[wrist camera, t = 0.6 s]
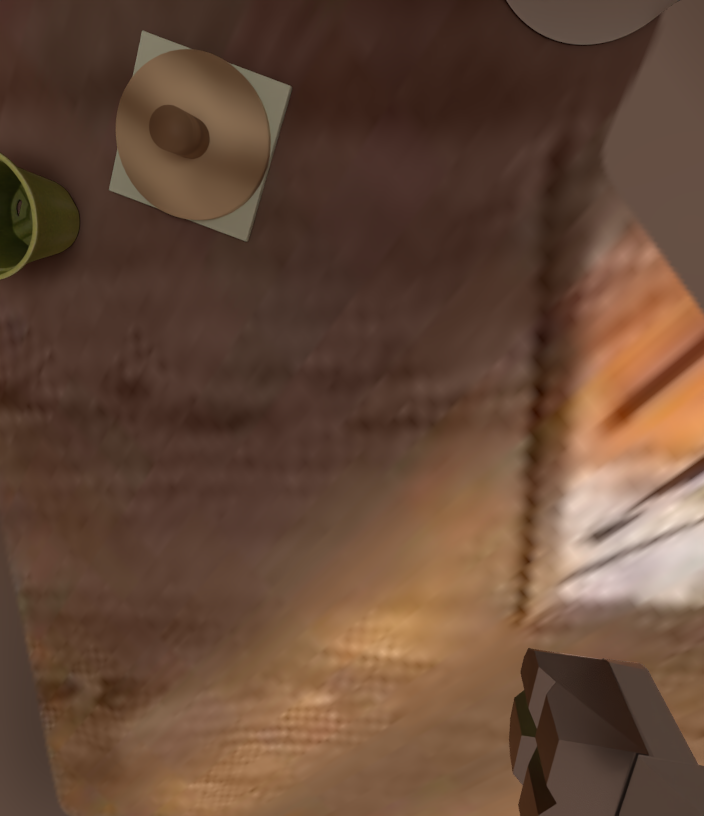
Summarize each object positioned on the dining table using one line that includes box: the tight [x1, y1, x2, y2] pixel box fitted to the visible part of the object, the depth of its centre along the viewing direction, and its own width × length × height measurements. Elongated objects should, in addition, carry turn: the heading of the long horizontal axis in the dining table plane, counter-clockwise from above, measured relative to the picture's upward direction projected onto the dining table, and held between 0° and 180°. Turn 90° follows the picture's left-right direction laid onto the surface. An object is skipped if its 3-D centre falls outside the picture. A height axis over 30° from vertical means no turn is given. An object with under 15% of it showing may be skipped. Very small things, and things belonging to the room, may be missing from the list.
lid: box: [116, 49, 271, 220], centre depth 43 cm, size 12×12×5 cm
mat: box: [109, 31, 292, 242], centre depth 46 cm, size 12×12×1 cm
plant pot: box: [0, 153, 80, 280], centre depth 45 cm, size 9×9×9 cm
